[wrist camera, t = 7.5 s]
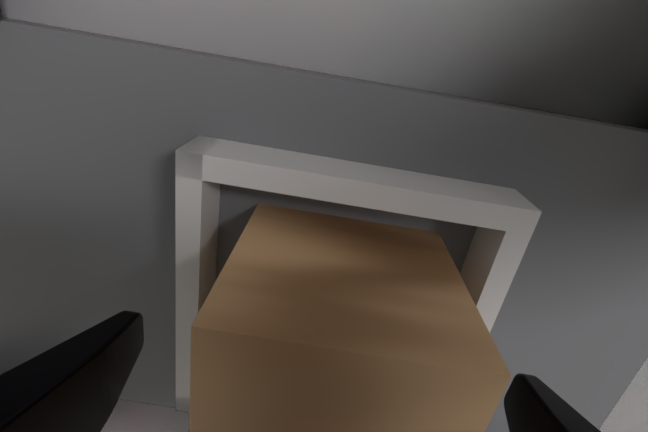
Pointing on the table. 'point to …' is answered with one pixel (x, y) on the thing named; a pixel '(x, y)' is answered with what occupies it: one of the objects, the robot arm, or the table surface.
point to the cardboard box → (340, 333)
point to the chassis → (304, 202)
